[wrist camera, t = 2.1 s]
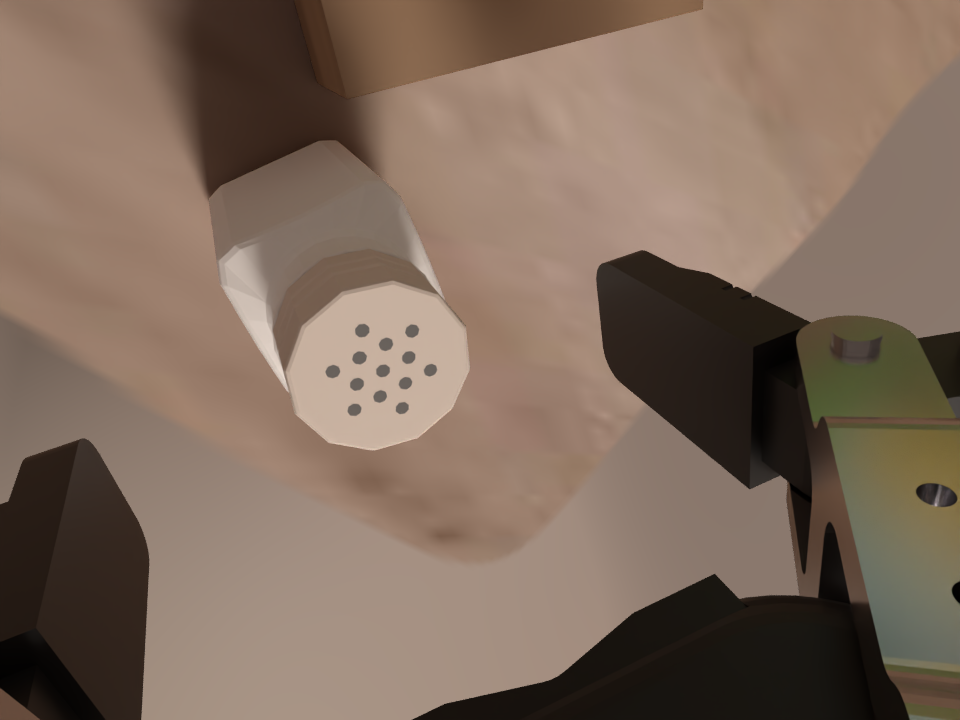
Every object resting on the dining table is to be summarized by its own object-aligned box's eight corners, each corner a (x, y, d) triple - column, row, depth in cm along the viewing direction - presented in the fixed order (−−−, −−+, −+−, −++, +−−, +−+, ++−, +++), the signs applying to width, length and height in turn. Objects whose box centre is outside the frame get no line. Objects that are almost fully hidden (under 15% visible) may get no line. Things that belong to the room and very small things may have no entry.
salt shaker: (198, 190, 18) (209, 329, 10) (335, 127, 19) (446, 213, 11) (271, 314, 20) (327, 508, 12) (393, 255, 21) (521, 403, 13)
